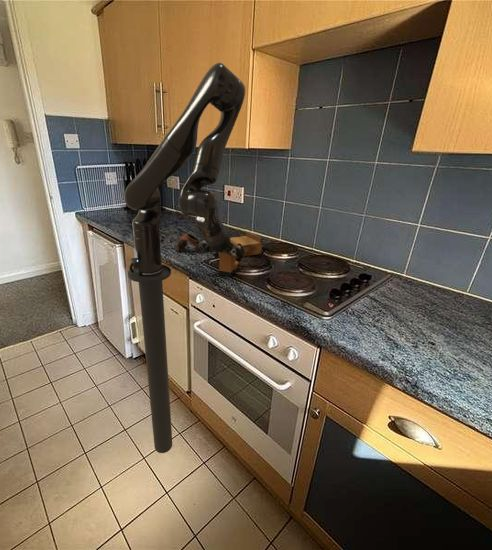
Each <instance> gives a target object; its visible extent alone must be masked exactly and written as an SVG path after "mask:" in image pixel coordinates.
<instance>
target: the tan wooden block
mask: <svg viewBox="0 0 492 550" xmlns="http://www.w3.org/2000/svg"><path fill="white" fill-rule="evenodd" d="M230 240H231V243H232V244H233V245H238V243H240V244H241V245H242V247H243V249H244V250H245V253H244V257H248V256H254V255H261V254H262V250H263V249H262V248H263V238H262V237H261V236H258V235H257V234H254V233H252V232H250V231H245V235H243V236H235V237H230ZM247 253H249V254H247Z"/></svg>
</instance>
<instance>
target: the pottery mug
mask: <svg viewBox="0 0 492 550" xmlns="http://www.w3.org/2000/svg"><path fill="white" fill-rule="evenodd" d="M188 243H190V244H191V245H193V246H195V249H194V251H195V252H197V251H198V250H199V248H200V243H201V242H200V240H199V238H197V237H195V235H193V234H191V233H184V235H181V236H180V237H179V239H178V241H177V243H176V247H175V248H176V251H177V252H184V251H185V249H186V247H187V245H188Z"/></svg>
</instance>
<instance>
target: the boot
mask: <svg viewBox="0 0 492 550" xmlns="http://www.w3.org/2000/svg"><path fill="white" fill-rule="evenodd" d="M231 251H232V250H231ZM231 251H230V253H231ZM236 253H237V252H235V254H236ZM238 264H239V265H240V262H237V260H236V258H235V257H234V256H230V255H228V254H226V253H223V252H219V270H218V275H219V276H224V277H229V278H231V277H232V276H233V275H234V274H235V273H236V272H237V271H238V270H239V269H240V267H239V268H237V269H236V270H235V268H236V266H237V265H238Z"/></svg>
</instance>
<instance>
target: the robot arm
mask: <svg viewBox="0 0 492 550" xmlns="http://www.w3.org/2000/svg"><path fill="white" fill-rule="evenodd" d="M245 98H246V85H245V84H244V82H243V81H242V80H241V79H240V78H239V77H238V76H237V75H236V74H235V73H234V72H233V71H231V70H230V68H228V67H227V66H226V65H225V64H223V62H216V63H214V64H213V65H212V66H211V67H209V68H208V70H207V72H205V74H204V75H203V77H202V78H201V81H200V82H199V84H198V85H197V87H196V89H195V91H194V93H193V94H192V96H191V97H190V99H189V101H188V103H187V104H186V106H185V108H184V109H183V111H182V112H181V114H180V116H178V118H177V120H176V121H175V122H174V123H173V125H172V127H171V128H170V129H169V130H168V132H167V133H166V135H165V136H164V137H163V139H161V142H160V143H159V145H158V146H157V148H156V149H155V151H154V152H153V153H152V155H151V157H150V158H149V159H148V160H147V162H146V163H145V165H144V166H143V168H142V169H141V170H140V172H138V174H137V175H136V176H135V177H134V178H133V179H132V180H131V181H130V182H129V183H128V185H127V186H126V188H125V190H124V201H125V204H126V206H127V207H128V208H130V209H131V210H132V211H133V210H134V211H138V212H137V215H136V216H135V217H134V219H133V220H132V222H131V223H132V233H133V244H134V246H133V257H131V258H130V264H129V267H128V268H129V270H130V271H131V272H132V273H134V270H133V269H132V268H134V269H136V272H137V273H138V275H139V276H154V275H157V274H160V273H161V272H162V265H163V264H162V251H161V250H162V249H161V234H160V233H161V232H160V221H161V217H162V202H161V201H162V199H161V192H160V189H159V186H160V185H162V184H163V183H164V182H165V181H166V180H168V179H169V178H170V177H172V176H173V175H175V174H176V173H177V172H178V171H179V170H180V169H181V168H183V167H184V165H185V164H186V163H187V162H188V160H189V159H190V158H191V157H192V155H193V154H194V153H195V151H196V150H197V151H196V153H195V157H194V161H193V165H192V170H191V172H190V174H189V175H188V177H187V179H186V180H185V182H184V185H183V187H182V188H181V190H180V192H179V195H178V199H177V207H178V210H179V211H180V213H181V214H182V215H184V216H188V217H189V216H191V217H195V218H194V222H195V225H196V227H197V229H198V231H199V232H200V235H201V236H202V238H203V239H202V242H201V247H202V249H203V250H204V252H205V253H206V254H207V253H209V254H210V255H212V256H213V257H214V259H216V260H217V259H219V257H220V252H223V253H226V254H228V255H230V256H234V257H235V261H237V262H239V263H240V262H241V261H242V259H244V257H245V256H244V253H245V250H244V249H243V247H242V245H241V244H240V243H238V245H233V244H232V243H231V240H230V238H231V237H230V235H229V233H228V230H227V228H226V226H225V224H224V223H223V222H222V220H221V217H220V215H219V200H218V197H217V194H215V193H214V192H213V191H211V190H204V189H202V188H204V187H206V186H211V185H214V184H215V183H216V182H217V181H218V178H219V173H220V169H221V165H222V162H223V157H224V153H225V150H226V147H227V144H228V141H229V139H230V137H231V134H232V132H233V130H234V127H235V124H236V122H237V119H238V117H239V115H240V112H241V109H242V107H243V104H244V102H245V101H244V100H245ZM209 104H210V105H211V106H212V107H213V108H215V109H216V110H218V111H219V112H220V115H219V121H218V123H217V125H216V127H215V128H214V129H213V130H212V131H211V132H210V133H209V134H208V135H206V136H205V137H204V138H203V139H202V140H201V142H200V143H199V145H198V144H197V143H198V133H199V123H200V119H201V117H202V116H203V114H204V111H205V110H206V109H207V107H208V105H209ZM197 145H198V147H197ZM196 148H197V149H196ZM231 250H232V251H231ZM230 251H231V253H230ZM235 252H236V254H235ZM161 264H162V265H161Z"/></svg>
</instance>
